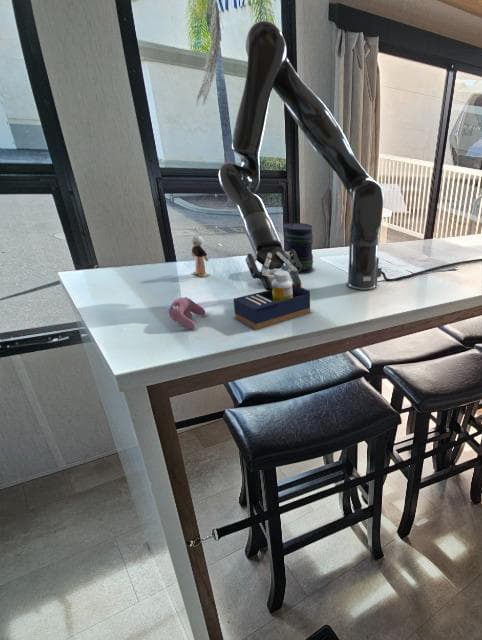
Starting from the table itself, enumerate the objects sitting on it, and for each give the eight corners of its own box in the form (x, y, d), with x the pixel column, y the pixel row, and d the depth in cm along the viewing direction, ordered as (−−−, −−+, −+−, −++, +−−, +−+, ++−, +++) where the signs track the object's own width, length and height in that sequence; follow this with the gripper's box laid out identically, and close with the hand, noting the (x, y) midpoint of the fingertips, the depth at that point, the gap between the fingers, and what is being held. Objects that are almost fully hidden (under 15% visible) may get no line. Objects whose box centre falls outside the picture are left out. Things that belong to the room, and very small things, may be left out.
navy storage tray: (289, 303, 124) (288, 276, 120) (310, 312, 120) (310, 285, 115) (235, 318, 111) (232, 289, 107) (256, 329, 107) (253, 300, 103)
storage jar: (318, 269, 153) (318, 227, 145) (299, 275, 145) (298, 230, 138) (298, 263, 157) (297, 221, 149) (278, 268, 150) (276, 224, 142)
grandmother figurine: (188, 274, 135) (181, 233, 129) (197, 271, 139) (191, 231, 132) (206, 279, 133) (201, 238, 127) (215, 276, 136) (210, 236, 130)
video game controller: (193, 319, 112) (176, 296, 108) (208, 313, 111) (191, 289, 107) (179, 335, 103) (161, 310, 100) (195, 328, 103) (177, 303, 99)
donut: (251, 284, 133) (280, 289, 132) (250, 274, 132) (279, 278, 130) (265, 276, 142) (293, 280, 141) (265, 265, 140) (293, 270, 139)
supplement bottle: (269, 305, 117) (266, 271, 111) (286, 301, 120) (284, 268, 115) (280, 312, 114) (278, 277, 109) (297, 308, 117) (295, 274, 112)
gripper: (239, 227, 106) (263, 286, 105) (290, 224, 115) (313, 278, 114) (232, 243, 112) (255, 299, 111) (281, 239, 121) (303, 290, 120)
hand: (284, 288), depth 113 cm, fingers open, 7 cm apart
